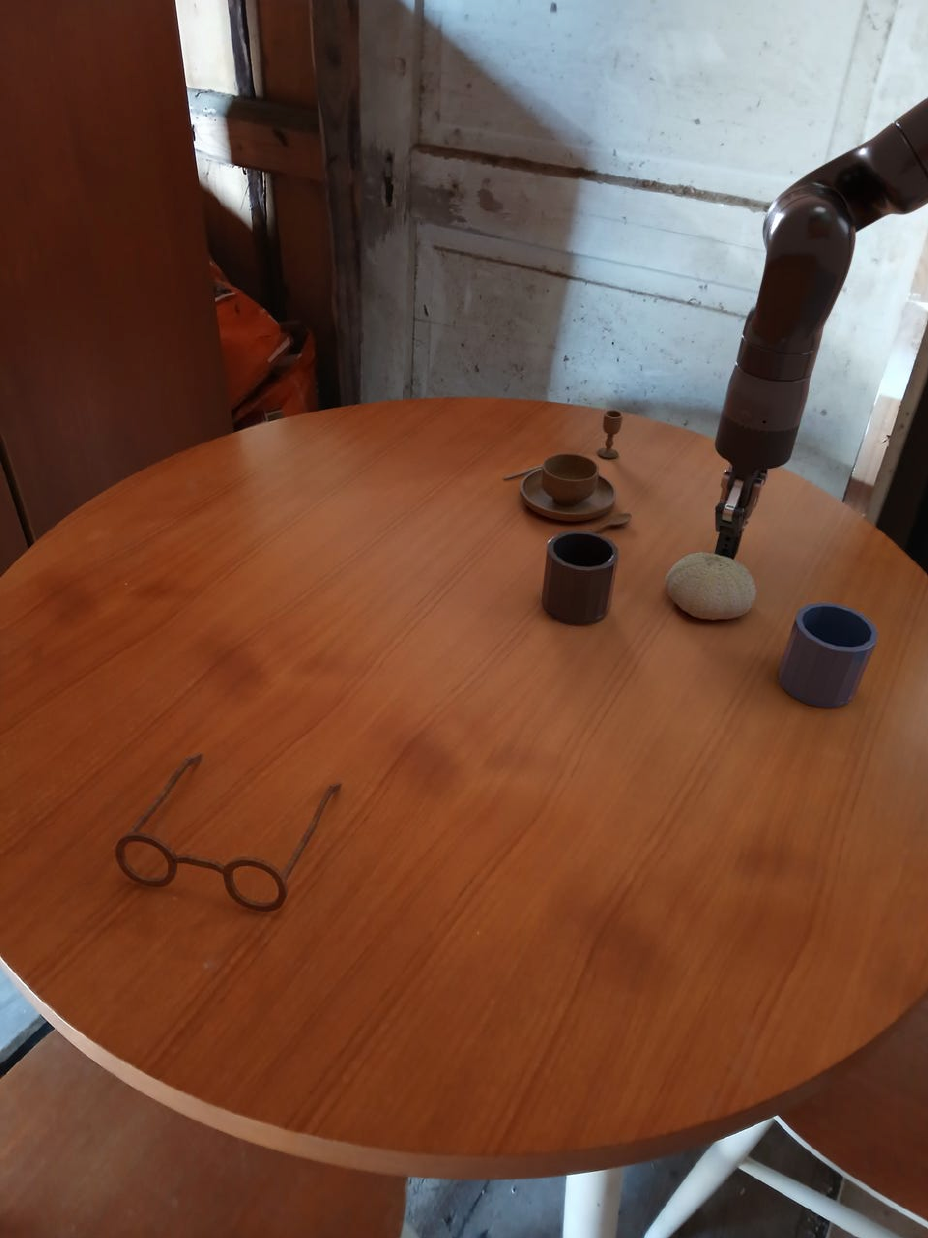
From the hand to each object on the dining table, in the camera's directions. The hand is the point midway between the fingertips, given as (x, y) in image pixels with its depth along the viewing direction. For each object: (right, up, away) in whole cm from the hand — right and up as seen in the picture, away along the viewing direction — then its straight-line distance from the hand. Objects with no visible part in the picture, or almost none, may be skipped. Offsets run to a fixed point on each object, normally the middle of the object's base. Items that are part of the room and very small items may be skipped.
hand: (725, 555), depth 99 cm
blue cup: (+5, -13, -12) cm, 18 cm away
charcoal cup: (-17, -5, -3) cm, 18 cm away
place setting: (-13, +9, +16) cm, 22 cm away
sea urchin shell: (-3, -5, -2) cm, 6 cm away
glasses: (-46, -24, -28) cm, 59 cm away
